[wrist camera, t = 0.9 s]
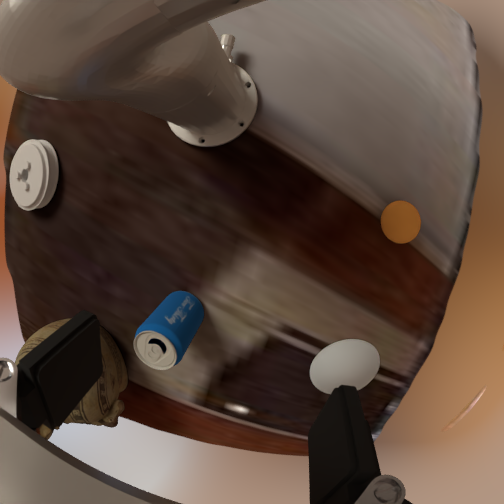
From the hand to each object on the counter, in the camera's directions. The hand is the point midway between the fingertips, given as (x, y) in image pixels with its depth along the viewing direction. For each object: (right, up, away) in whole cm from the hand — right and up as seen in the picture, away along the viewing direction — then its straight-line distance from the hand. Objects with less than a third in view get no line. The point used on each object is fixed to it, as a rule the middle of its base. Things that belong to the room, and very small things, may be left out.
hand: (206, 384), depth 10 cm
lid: (-37, +19, +30) cm, 51 cm away
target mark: (+17, -14, +32) cm, 39 cm away
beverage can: (-8, -4, +33) cm, 34 cm away
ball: (+21, +9, +23) cm, 32 cm away
